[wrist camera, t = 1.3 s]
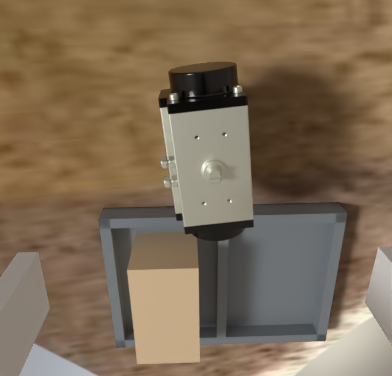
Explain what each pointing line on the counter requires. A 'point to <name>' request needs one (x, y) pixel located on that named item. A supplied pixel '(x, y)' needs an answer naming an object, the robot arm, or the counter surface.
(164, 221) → the bay tray
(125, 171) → the counter surface
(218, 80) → the pneumatic valve
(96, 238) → the counter surface
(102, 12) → the counter surface
